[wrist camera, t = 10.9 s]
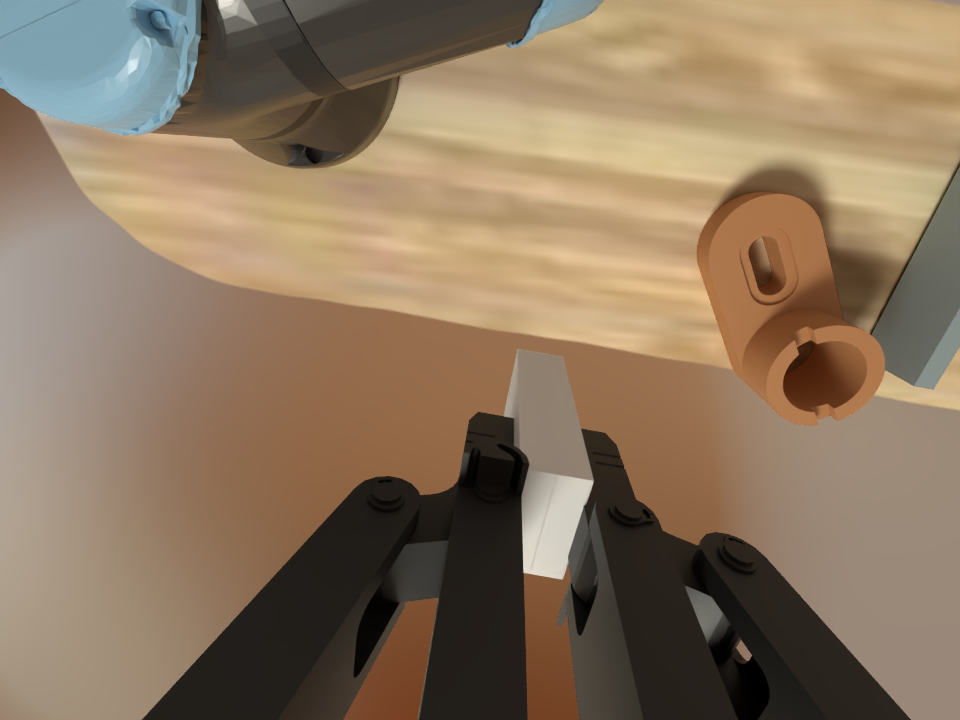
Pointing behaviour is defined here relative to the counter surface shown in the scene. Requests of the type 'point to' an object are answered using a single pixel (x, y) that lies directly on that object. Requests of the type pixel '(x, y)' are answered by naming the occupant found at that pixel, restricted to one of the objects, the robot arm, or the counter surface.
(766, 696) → the robot arm
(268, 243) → the counter surface
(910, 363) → the plate
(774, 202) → the bracket
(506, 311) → the counter surface
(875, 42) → the counter surface
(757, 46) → the counter surface
